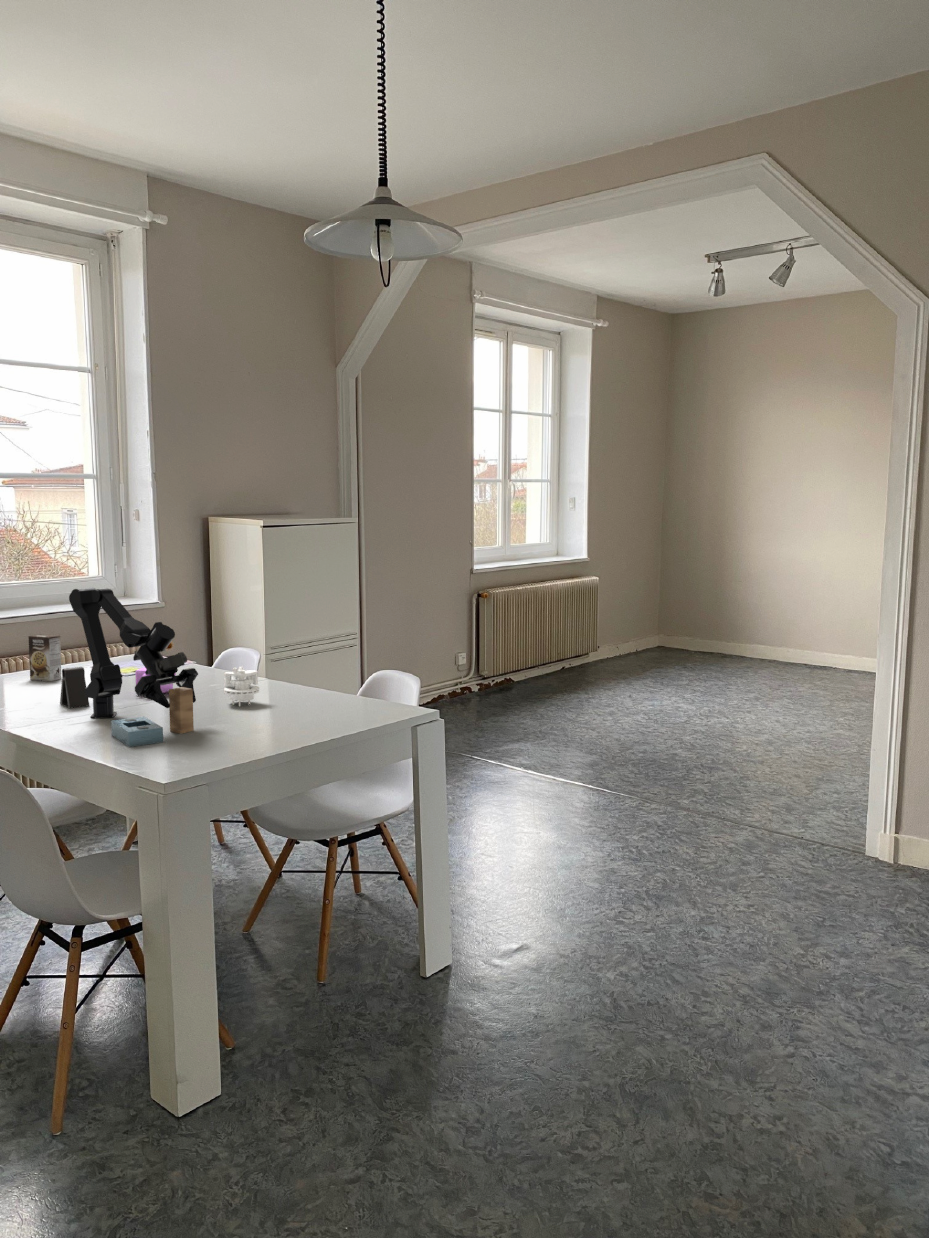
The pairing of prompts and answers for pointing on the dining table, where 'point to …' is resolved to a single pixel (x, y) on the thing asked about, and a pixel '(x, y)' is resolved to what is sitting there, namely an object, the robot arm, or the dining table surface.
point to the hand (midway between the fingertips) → (182, 704)
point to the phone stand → (73, 688)
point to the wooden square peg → (181, 710)
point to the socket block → (137, 731)
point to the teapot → (141, 673)
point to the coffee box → (45, 657)
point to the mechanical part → (241, 684)
